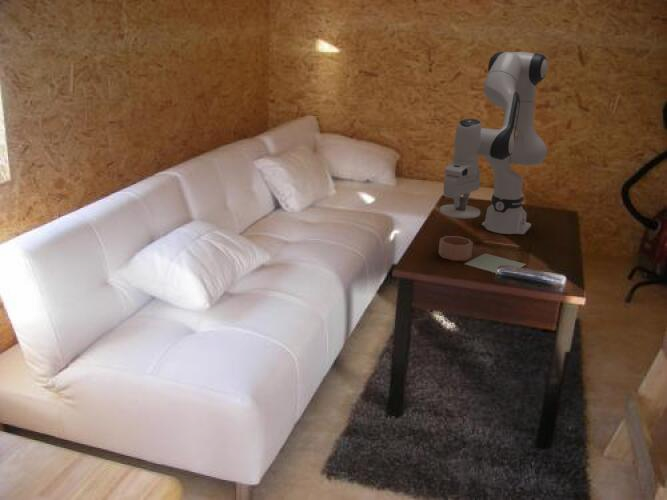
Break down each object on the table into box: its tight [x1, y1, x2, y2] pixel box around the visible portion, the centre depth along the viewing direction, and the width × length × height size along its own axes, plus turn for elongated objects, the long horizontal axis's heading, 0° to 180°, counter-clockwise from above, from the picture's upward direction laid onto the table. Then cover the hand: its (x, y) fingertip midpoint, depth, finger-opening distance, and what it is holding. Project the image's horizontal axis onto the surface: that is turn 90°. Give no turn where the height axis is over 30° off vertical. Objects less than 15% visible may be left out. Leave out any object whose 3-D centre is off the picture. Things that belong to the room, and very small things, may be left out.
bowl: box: [437, 235, 474, 261], centre depth 233 cm, size 11×11×6 cm
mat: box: [464, 253, 527, 274], centre depth 227 cm, size 16×16×1 cm
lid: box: [439, 196, 481, 219], centre depth 228 cm, size 14×14×5 cm
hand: (460, 205), depth 228 cm, fingers closed on lid, 3 cm apart
